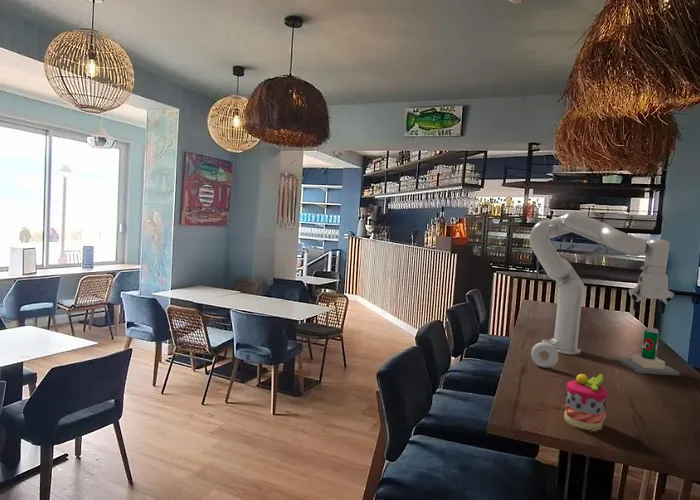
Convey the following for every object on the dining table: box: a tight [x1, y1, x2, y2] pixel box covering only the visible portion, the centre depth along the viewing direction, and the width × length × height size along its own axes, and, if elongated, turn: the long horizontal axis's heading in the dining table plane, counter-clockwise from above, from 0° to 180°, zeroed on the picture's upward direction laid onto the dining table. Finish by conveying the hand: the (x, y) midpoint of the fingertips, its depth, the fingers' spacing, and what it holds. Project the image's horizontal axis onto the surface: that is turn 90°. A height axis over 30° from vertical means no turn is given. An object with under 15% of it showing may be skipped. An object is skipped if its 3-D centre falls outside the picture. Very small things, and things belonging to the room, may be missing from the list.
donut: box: [530, 341, 560, 369], centre depth 177 cm, size 10×4×10 cm, turn 55°
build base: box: [617, 353, 681, 376], centre depth 184 cm, size 16×14×4 cm
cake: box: [563, 373, 608, 432], centre depth 130 cm, size 10×11×15 cm
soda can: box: [640, 327, 660, 359], centre depth 183 cm, size 5×5×12 cm
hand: (648, 311), depth 184 cm, fingers open, 9 cm apart
